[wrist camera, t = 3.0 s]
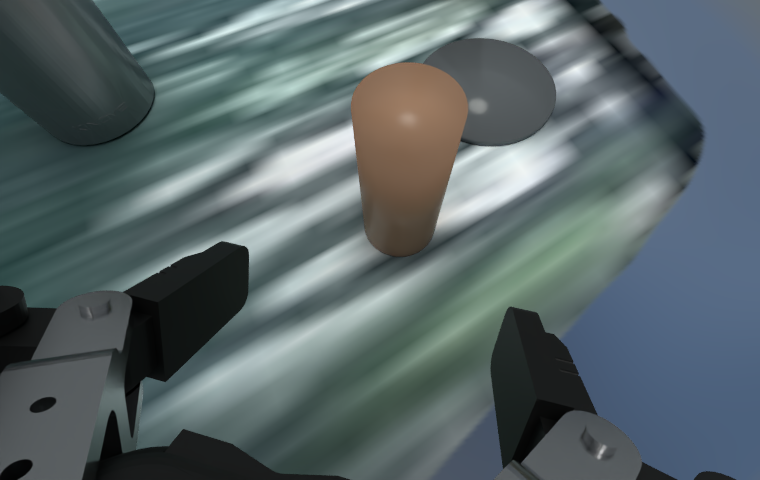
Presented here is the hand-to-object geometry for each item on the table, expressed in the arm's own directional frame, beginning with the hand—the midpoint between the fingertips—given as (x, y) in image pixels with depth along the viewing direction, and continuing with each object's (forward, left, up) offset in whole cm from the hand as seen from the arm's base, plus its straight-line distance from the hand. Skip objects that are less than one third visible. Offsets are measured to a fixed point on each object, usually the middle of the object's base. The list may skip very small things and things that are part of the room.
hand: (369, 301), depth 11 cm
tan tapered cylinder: (-7, +7, -14) cm, 17 cm away
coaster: (-13, +21, -14) cm, 28 cm away
